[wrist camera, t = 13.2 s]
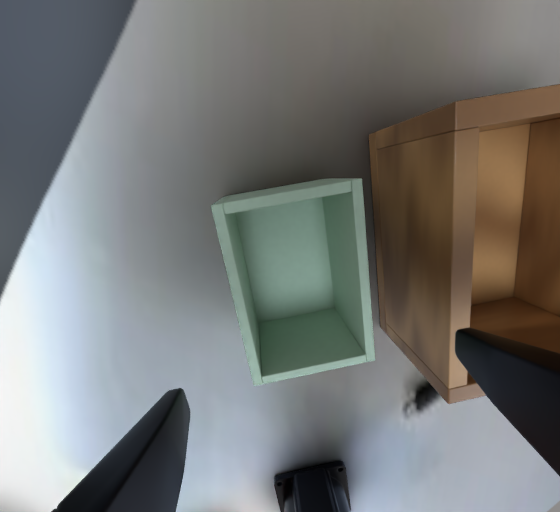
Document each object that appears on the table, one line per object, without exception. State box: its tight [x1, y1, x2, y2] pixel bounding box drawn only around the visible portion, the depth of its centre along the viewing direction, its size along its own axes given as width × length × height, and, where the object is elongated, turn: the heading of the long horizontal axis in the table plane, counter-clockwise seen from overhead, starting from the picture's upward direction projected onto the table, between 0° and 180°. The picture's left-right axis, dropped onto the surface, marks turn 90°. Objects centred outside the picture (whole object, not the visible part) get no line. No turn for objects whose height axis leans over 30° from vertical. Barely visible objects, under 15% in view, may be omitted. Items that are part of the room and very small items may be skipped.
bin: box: [211, 178, 375, 386], centre depth 16 cm, size 10×7×6 cm
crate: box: [369, 84, 560, 404], centre depth 15 cm, size 14×11×8 cm
